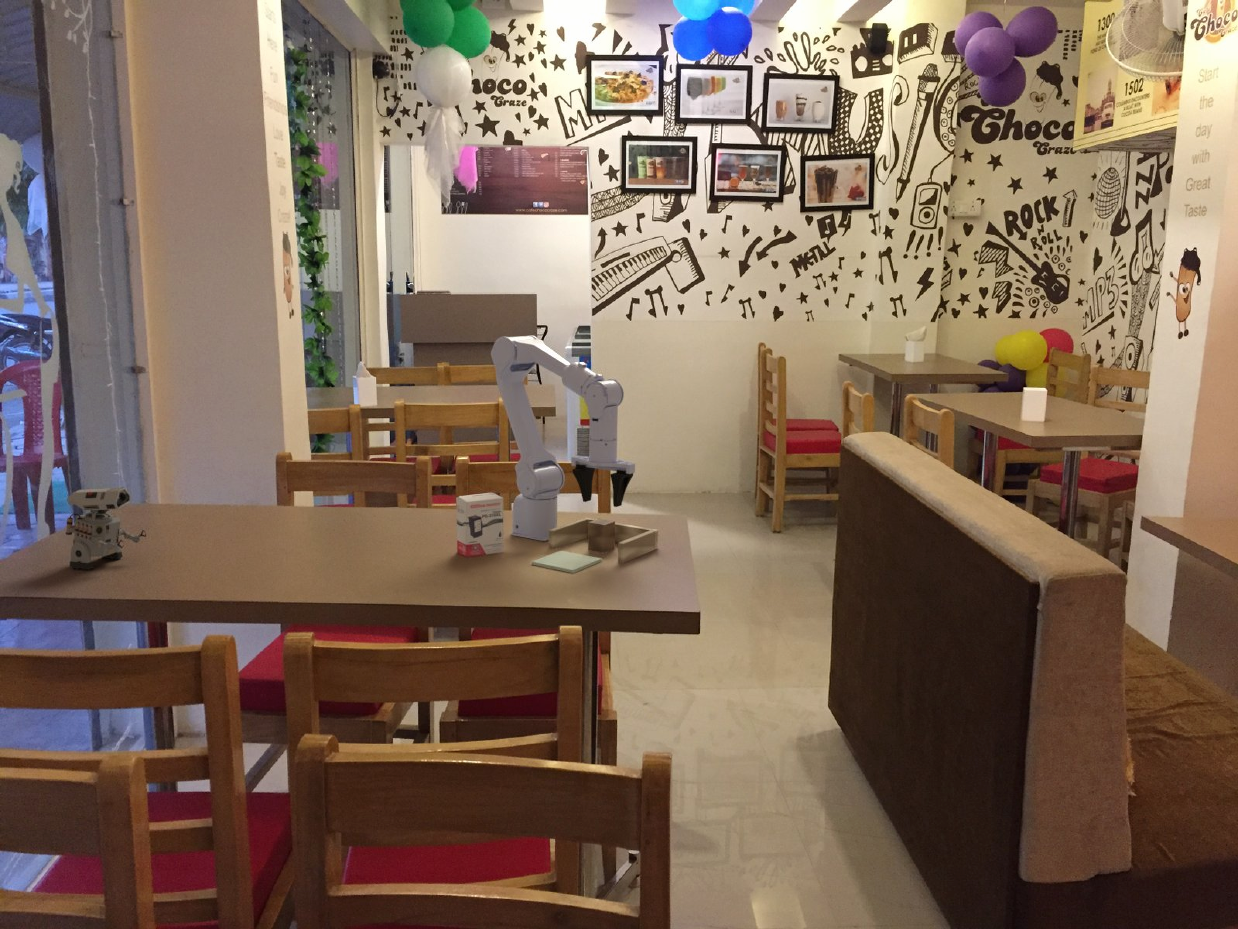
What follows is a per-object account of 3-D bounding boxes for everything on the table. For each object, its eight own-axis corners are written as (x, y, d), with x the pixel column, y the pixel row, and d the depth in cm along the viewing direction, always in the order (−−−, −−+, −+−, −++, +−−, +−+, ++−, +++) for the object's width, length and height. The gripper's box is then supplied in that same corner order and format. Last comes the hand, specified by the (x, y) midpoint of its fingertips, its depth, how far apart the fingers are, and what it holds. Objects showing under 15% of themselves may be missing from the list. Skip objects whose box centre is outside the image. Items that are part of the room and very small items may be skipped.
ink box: (466, 558, 202) (466, 500, 200) (456, 552, 206) (455, 496, 204) (504, 552, 207) (504, 496, 204) (493, 546, 211) (493, 491, 209)
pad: (531, 564, 198) (531, 561, 198) (561, 553, 206) (561, 550, 206) (573, 573, 193) (573, 570, 193) (601, 561, 201) (601, 558, 201)
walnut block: (588, 550, 210) (588, 522, 208) (598, 546, 213) (599, 518, 212) (604, 553, 207) (604, 525, 206) (614, 549, 211) (615, 521, 210)
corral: (548, 548, 210) (548, 530, 209) (585, 535, 221) (586, 517, 221) (623, 563, 200) (623, 543, 199) (657, 548, 212) (658, 529, 211)
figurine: (114, 574, 187) (108, 495, 184) (63, 568, 190) (56, 491, 187) (148, 561, 196) (143, 486, 193) (98, 555, 199) (93, 481, 196)
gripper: (563, 437, 206) (562, 502, 209) (622, 445, 199) (621, 511, 201) (582, 433, 212) (581, 496, 215) (641, 440, 205) (639, 505, 207)
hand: (602, 503), depth 208 cm, fingers open, 7 cm apart
